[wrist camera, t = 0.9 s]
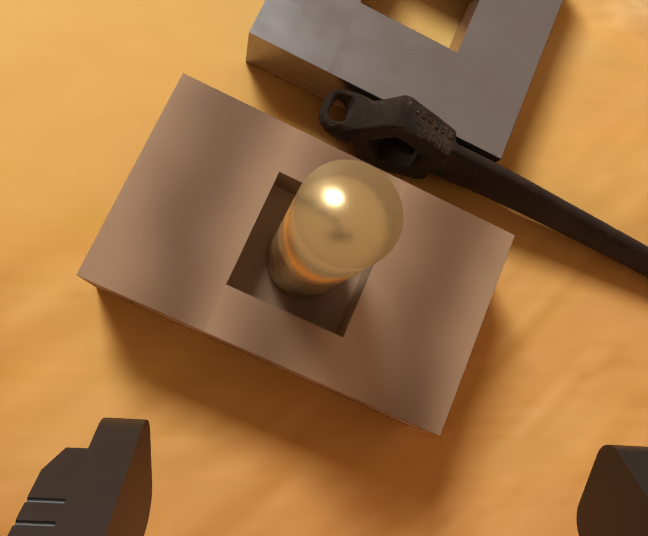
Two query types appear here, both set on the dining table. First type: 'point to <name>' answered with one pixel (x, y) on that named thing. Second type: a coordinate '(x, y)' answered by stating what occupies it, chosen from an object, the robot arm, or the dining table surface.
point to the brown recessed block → (251, 272)
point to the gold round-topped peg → (334, 228)
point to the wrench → (463, 168)
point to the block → (411, 59)
